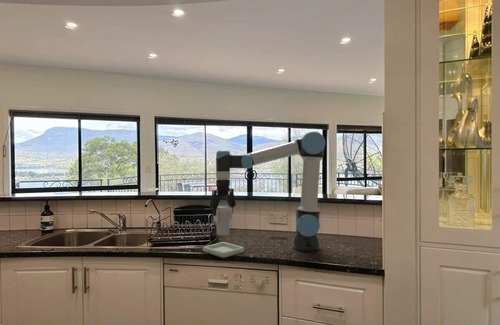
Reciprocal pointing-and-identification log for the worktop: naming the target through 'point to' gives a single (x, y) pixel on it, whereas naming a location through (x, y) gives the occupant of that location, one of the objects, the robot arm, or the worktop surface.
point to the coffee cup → (223, 220)
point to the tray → (223, 249)
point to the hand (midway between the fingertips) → (223, 220)
